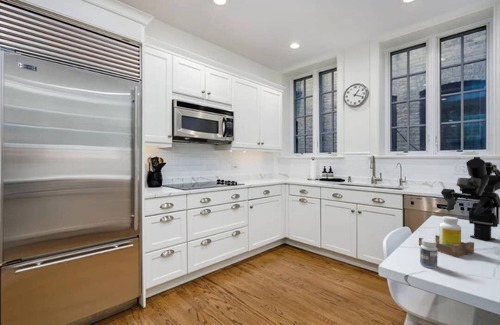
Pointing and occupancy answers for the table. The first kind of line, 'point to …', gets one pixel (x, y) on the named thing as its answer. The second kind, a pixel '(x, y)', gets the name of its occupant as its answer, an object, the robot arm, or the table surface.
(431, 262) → the pill bottle
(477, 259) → the table surface
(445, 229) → the supplement bottle
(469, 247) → the bay
